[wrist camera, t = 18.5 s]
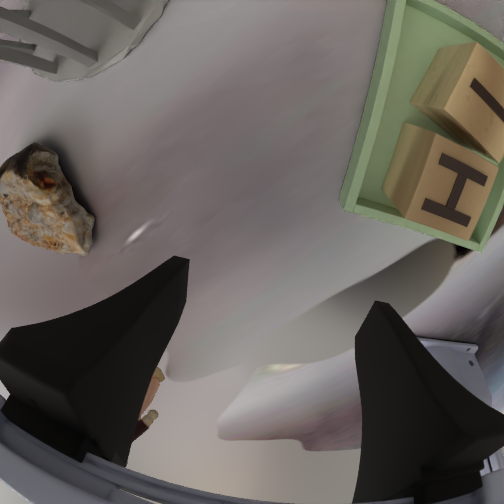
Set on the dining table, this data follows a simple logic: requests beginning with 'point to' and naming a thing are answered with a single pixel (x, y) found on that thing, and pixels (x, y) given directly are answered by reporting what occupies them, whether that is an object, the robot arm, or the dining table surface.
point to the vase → (75, 34)
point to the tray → (411, 111)
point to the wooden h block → (438, 181)
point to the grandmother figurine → (152, 414)
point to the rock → (43, 203)
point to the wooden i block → (465, 98)
